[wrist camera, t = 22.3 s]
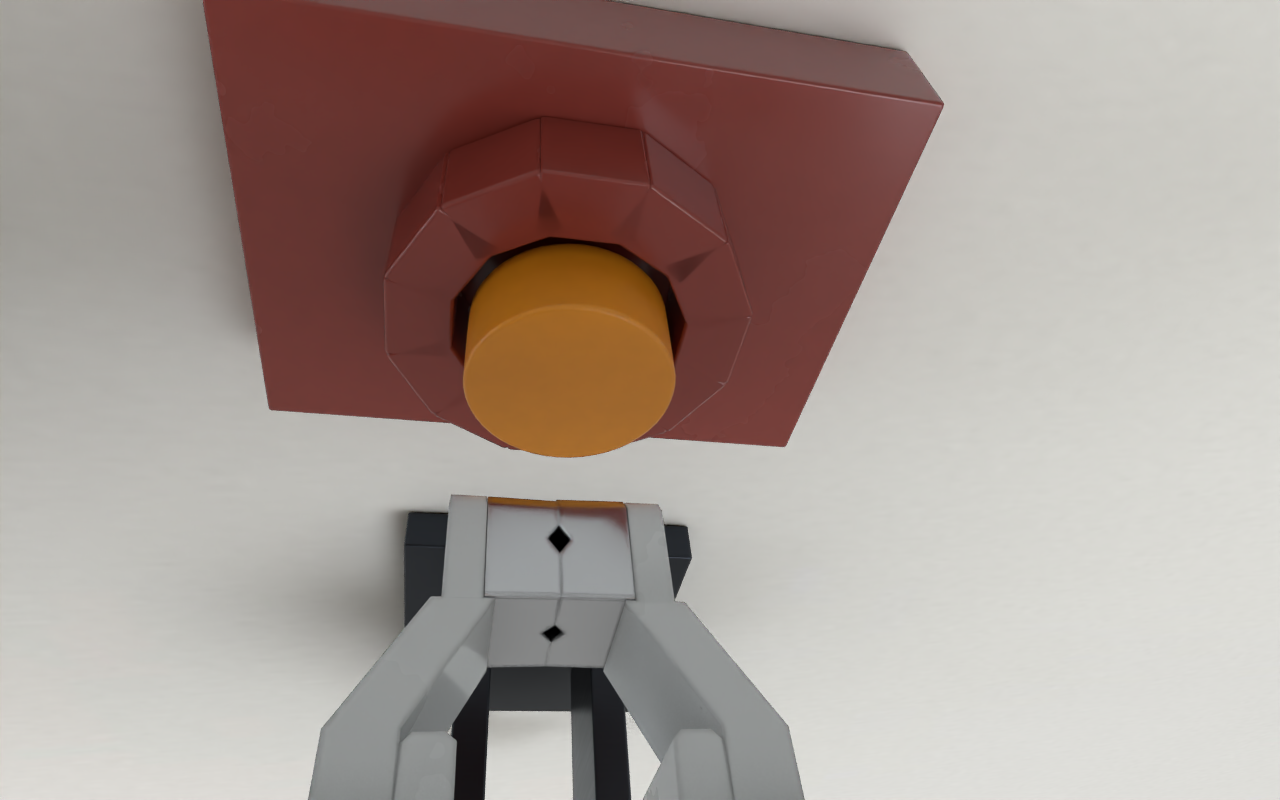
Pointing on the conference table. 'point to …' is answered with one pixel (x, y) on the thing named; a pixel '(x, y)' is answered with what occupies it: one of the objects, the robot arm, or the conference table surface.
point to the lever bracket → (533, 682)
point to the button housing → (554, 189)
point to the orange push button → (568, 352)
